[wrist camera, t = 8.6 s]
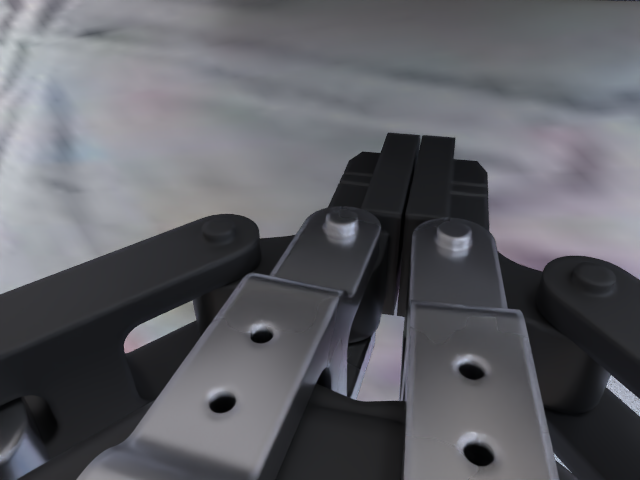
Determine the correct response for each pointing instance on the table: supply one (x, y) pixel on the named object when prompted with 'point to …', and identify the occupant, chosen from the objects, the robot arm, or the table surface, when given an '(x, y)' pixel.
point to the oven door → (624, 0)
